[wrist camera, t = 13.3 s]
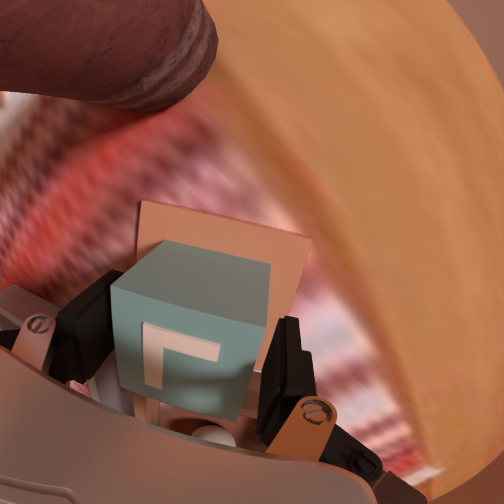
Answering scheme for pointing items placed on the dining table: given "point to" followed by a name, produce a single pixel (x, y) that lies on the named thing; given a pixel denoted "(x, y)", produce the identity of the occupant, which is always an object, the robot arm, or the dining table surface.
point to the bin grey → (27, 304)
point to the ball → (214, 435)
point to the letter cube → (190, 327)
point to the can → (106, 50)
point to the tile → (231, 250)
